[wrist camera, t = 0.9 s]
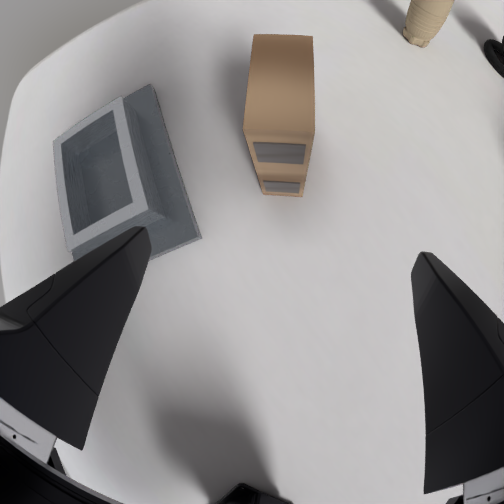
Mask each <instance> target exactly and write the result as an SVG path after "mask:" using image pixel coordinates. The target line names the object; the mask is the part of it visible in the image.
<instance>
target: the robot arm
mask: <svg viewBox="0 0 504 504" xmlns="http://www.w3.org/2000/svg"><path fill="white" fill-rule="evenodd" d="M151 252H152V246H151V242H150V238H149V234H148V230H147V228H146V227H144V226H134V227H132V228H130V229H128V230H126V231H125V232H123V233H121V234H119V235H118V236H116V237H114V238H112V239H111V240H109V241H107V242H105V243H104V244H102V245H100V246H99V247H97V248H95V249H94V250H92V251H90V252H89V253H87V254H85V255H84V256H82V257H80V258H79V259H77V260H75V261H74V262H72V263H71V264H69V265H67V266H66V267H64V268H63V269H61V270H60V271H58V272H56V274H53V275H52V276H50V277H49V278H47V279H46V280H44V281H42V282H41V283H39V284H38V285H36V286H35V287H33V288H31V289H30V290H28V291H26V292H25V293H23V294H21V295H20V296H18V297H16V298H15V299H13V300H11V301H10V302H8V303H6V304H5V305H3V306H2V307H0V504H123V503H121V502H118V501H116V500H114V499H111V498H109V497H107V496H105V495H103V494H100V493H98V492H96V491H94V490H92V489H90V488H88V487H86V486H84V485H82V484H80V483H78V482H76V481H75V480H73V479H71V478H69V477H67V476H66V474H65V471H64V469H63V466H62V464H61V461H60V458H59V456H58V453H57V450H56V448H54V445H55V442H56V440H57V438H59V439H61V440H62V441H64V442H66V443H68V444H70V445H72V446H74V447H76V448H78V449H80V450H83V447H84V444H85V441H86V437H87V433H88V430H89V427H90V423H91V420H92V417H93V413H94V410H95V407H96V404H97V401H98V396H99V394H100V391H101V388H102V385H103V382H104V379H105V376H106V373H107V371H108V368H109V365H110V362H111V359H112V357H113V354H114V351H115V349H116V346H117V343H118V341H119V338H120V335H121V333H122V330H123V328H124V325H125V323H126V320H127V318H128V315H129V313H130V311H131V308H132V306H133V303H134V301H135V299H136V296H137V294H138V291H139V289H140V286H141V283H142V280H143V277H144V273H145V270H146V267H147V264H148V261H149V258H150V255H151ZM411 282H412V292H413V303H414V315H415V323H416V329H417V335H418V342H419V350H420V357H421V366H422V376H423V387H424V402H425V425H426V451H425V478H424V494H428V493H432V492H436V491H440V490H444V489H448V488H451V487H455V486H458V485H462V484H463V495H460V496H457V497H453V498H450V499H449V500H448V501H447V503H446V504H504V323H503V322H502V321H501V320H500V319H499V318H497V316H496V315H495V313H494V312H493V311H492V310H491V309H490V308H489V307H488V306H487V305H486V304H485V303H484V302H483V301H482V300H481V299H480V298H479V297H478V296H477V295H476V294H475V293H474V292H473V291H472V290H471V289H470V288H469V287H468V286H467V285H466V284H465V283H464V282H463V281H462V280H461V279H460V278H459V277H458V276H457V275H456V274H455V273H454V272H452V271H451V270H450V269H449V268H448V267H447V266H446V265H445V264H444V263H443V262H442V261H440V260H439V259H438V258H437V257H436V256H435V255H434V254H433V253H431V252H420V253H419V255H418V257H417V259H416V262H415V264H414V267H413V269H412V272H411ZM242 488H244V489H242ZM216 504H288V503H286V502H283V501H281V500H278V499H276V498H274V497H271V496H269V495H267V494H265V493H262V492H260V491H258V490H256V489H254V488H252V487H250V486H248V485H245V484H238V485H237V486H236V487H235V488H233V489H232V490H231V491H230V492H229V493H228V494H227V495H225V496H224V497H223V498H222V499H221V500H220V501H218V502H217V503H216Z"/></svg>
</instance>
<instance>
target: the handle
mask: <svg viewBox="0 0 504 504" xmlns="http://www.w3.org/2000/svg"><path fill="white" fill-rule="evenodd" d="M453 2H454V0H411V3H410V6H409V9H408V12H407V16H406V22H405V23H406V27H404V29H403V35H404V37H406V38H407V39H408V41H409V43H411V44H415V45H418V46H420V47H426V46H427V45H428V44H429V41H430V40H431V39H432V38H434V36H435V35H436V34H437V33H438V31H439V30H440V28H441V27H442V25H443V24H444V22H445V20H446V18H447V16H448V15H449V12H450V10H451V7H452V5H453Z"/></svg>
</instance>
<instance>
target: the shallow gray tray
mask: <svg viewBox="0 0 504 504" xmlns="http://www.w3.org/2000/svg"><path fill="white" fill-rule="evenodd" d="M53 150H54V164H55V175H56V184H57V192H58V200H59V207H60V213H61V219H62V225H63V230H64V236H65V241H66V246H67V250H68V252H72V255H73V259H74V261H75V260H77V259H79V258H80V257H82V256H84V255H85V254H87V253H89V252H90V251H92V250H94V249H95V248H97V247H99V246H100V245H102V244H104V243H105V242H107V241H109V240H111V239H112V238H114V237H116V236H118V235H119V234H121V233H123V232H125V231H126V230H128V229H130V228H132V227H134V226H144V227H146V228H147V230H148V234H149V238H150V242H151V246H152V252H151V255H150V258H149V260H152V259H154V258H156V257H159V256H161V255H163V254H166V253H168V252H170V251H173V250H175V249H177V248H180V247H182V246H184V245H187V244H189V243H192V242H194V241H196V240H199V239H201V238H202V237H201V234H200V232H199V229H198V226H197V223H196V220H195V217H194V214H193V211H192V208H191V205H190V202H189V199H188V196H187V193H186V190H185V187H184V184H183V181H182V178H181V175H180V172H179V169H178V166H177V163H176V160H175V156H174V153H173V150H172V147H171V144H170V140H169V137H168V134H167V131H166V127H165V124H164V121H163V117H162V114H161V111H160V107H159V104H158V100H157V97H156V93H155V90H154V88H153V87H152V85H151V84H149V85H147V86H145V87H144V88H142V89H140V90H138V91H136V92H134V93H132V94H131V95H129V96H127V97H125V98H123V97H122V96H120V97H118V98H117V99H115V100H113V101H112V102H110V103H108V104H107V105H105V106H103V107H102V108H100V109H99V110H97V111H95V112H94V113H92V114H91V115H89V116H88V117H86V118H85V119H83V120H82V121H80V122H79V123H77V124H76V125H75V126H73V127H72V128H70V129H69V130H67V131H66V132H65V133H63V134H62V135H61V136H59V137H58V138H57V139H55V140H54V141H53Z"/></svg>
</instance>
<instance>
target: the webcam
mask: <svg viewBox="0 0 504 504" xmlns="http://www.w3.org/2000/svg"><path fill="white" fill-rule="evenodd" d="M494 49H496V50H497V51H498V52H499V53H500V54H501V55H502V56H503V58H504V36H503V39H502V43H500V42H498V41H496V40H491V39H490V40H487V41H486V42H485V44H484V50H485V53H486V56H487V58H488V60H489V61H490V63H491V64H492V65H493V67H494V68H495V69H496V70H497V71H498V73H499V74H500V75H502V76H503V77H504V65H503V64H502V63H501V62H500V61H499V59H498V58H497V56H496V54H495V52H494Z"/></svg>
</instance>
